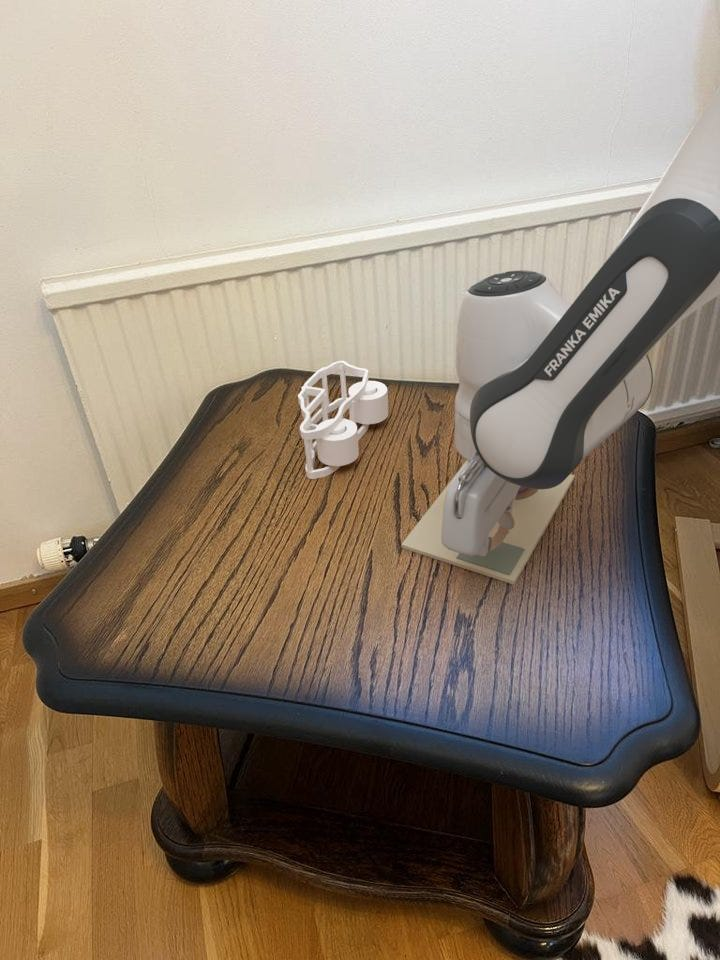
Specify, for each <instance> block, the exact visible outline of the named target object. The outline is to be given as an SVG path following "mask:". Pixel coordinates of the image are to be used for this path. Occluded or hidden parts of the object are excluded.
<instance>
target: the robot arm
mask: <svg viewBox="0 0 720 960" xmlns="http://www.w3.org/2000/svg"><path fill="white" fill-rule="evenodd" d="M719 295H720V85H719V87H718V88H717V89H716V91H715V92H714V93H713V95H712V97H711V98H710V100H709V101H708V103H707V104H706V105H705V107H704V109H703V111H702V112H701V114H699V117H698V118H697V120H696V122H695V123H694V124H693V126H692V127H691V129H690V131H689V132H688V134H687V135H686V137H685V139H684V140H683V142H682V143H681V145H680V146H679V148H678V150H677V152H676V153H675V154H674V156H673V158H672V160H671V161H670V163H669V164H668V166H667V168H666V169H665V171H664V173H663V174H662V176H661V177H660V179H659V181H658V182H657V184H656V185H655V187H654V188H653V190H652V191H651V193H650V194H649V196H648V197H647V199H646V200H645V202H644V204H643V205H642V206H641V208H640V210H639V211H638V212H637V214H636V216H635V217H634V219H633V220H632V221H631V223H630V224H629V227H628V228H627V230H626V231H625V233H624V235H623V236H622V238H621V239H620V240H619V242H618V244H617V245H616V247H615V248H614V249H613V251H612V252H611V254H609V256H608V258H606V260H605V261H604V263H603V264H602V265H601V267H599V269H598V271H597V272H596V273H595V274H594V275H593V277H592V278H591V279H590V281H589V282H588V283H587V285H585V287H584V288H583V290H581V292H580V293H579V295H578V296H577V297H576V299H575V300H574V301H573V302H572V303H570V302H569V301H568V300H567V299H565V298H564V296H562V295H561V294H560V292H559V291H558V290H557V288H556V287H555V285H554V284H553V281H551V280H550V278H549V277H548V276H546V275H545V274H542V273H541V272H536V271H533V270H520V269H519V270H509V271H505V272H500V273H494V274H492V275H489V276H487V277H485V278H483V279H481V280H479V281H477V282H476V283H474V284H473V285H472V286H470V287H469V288H468V289H467V290H466V291H465V293H464V295H463V296H462V297H463V298H462V300H461V302H460V303H461V304H460V307H459V311H458V317H457V318H458V319H457V324H456V325H457V326H456V335H455V337H456V338H455V359H454V361H455V371H456V374H457V377H458V388H457V392H456V394H455V399H454V435H453V436H454V438H453V439H454V440H453V442H454V443H453V444H454V447H455V449H456V452H457V453H458V454H459V455H460V456H461V457H463V458H464V459H466V460H467V462H466V461H465V462H466V463H465V462H464V463H465V465H464V466H463V465H462V466H463V467H462V466H461V467H462V469H461V470H460V471H459V470H458V471H459V472H458V471H457V472H458V474H457V475H456V474H455V475H456V476H455V475H454V476H455V478H454V479H453V480H452V479H451V480H452V482H451V483H450V485H449V487H448V490H447V493H446V497H445V502H444V511H443V522H442V544H443V545H444V546H445V547H446V548H447V549H450V550H452V551H455V552H458V553H461V554H465V555H469V556H474V555H479V556H483V557H485V556H486V555H487V553H488V552H489V550H490V549H491V542H492V537H489V536H488V535H489V534H490V532H491V531H492V529H493V528H494V526H495V525H496V523H497V522H498V520H499V519H500V517H501V516H502V514H503V512H504V511H505V510H507V511H509V512H510V513H511V515H512V514H513V504H514V501H515V498H516V495H517V492H518V489H519V488H520V486H523V487H527V488H532V489H550V488H553V487H555V486H558V485H559V484H561V483H562V482H563V481H564V480H565V479H566V478H567V477H568V476H569V475H570V474H572V473H573V472H574V471H575V470H576V469H577V468H578V467H579V465H580V464H581V462H583V460H584V459H586V457H588V456H589V455H591V453H593V452H594V451H595V450H596V449H597V448H598V447H599V446H600V445H602V444H603V443H604V442H605V441H606V440H607V439H608V438H610V437H611V436H612V435H613V434H614V433H615V432H616V431H617V430H619V429H620V428H621V427H622V426H623V425H625V424H626V423H627V421H629V419H631V418H632V417H633V416H634V415H635V414H636V413H637V412H638V411H640V409H641V408H642V407H644V405H645V404H646V403H647V401H649V400H648V399H649V398H650V395H651V393H652V389H653V382H654V375H653V367H652V363H651V360H650V358H649V356H648V354H650V352H651V351H652V350H653V349H654V348H655V347H656V346H657V344H658V343H659V342H660V341H662V339H664V337H665V336H667V335H668V334H669V333H670V332H671V331H672V330H673V329H674V328H675V327H677V326H678V325H679V324H681V323H682V322H683V321H684V320H686V319H687V318H688V317H690V316H691V315H692V314H693V313H695V312H696V311H698V310H699V309H701V307H703V306H704V305H706V304H708V303H709V302H710V301H712V300H714V299H715V298H716V297H718V296H719Z"/></svg>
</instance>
